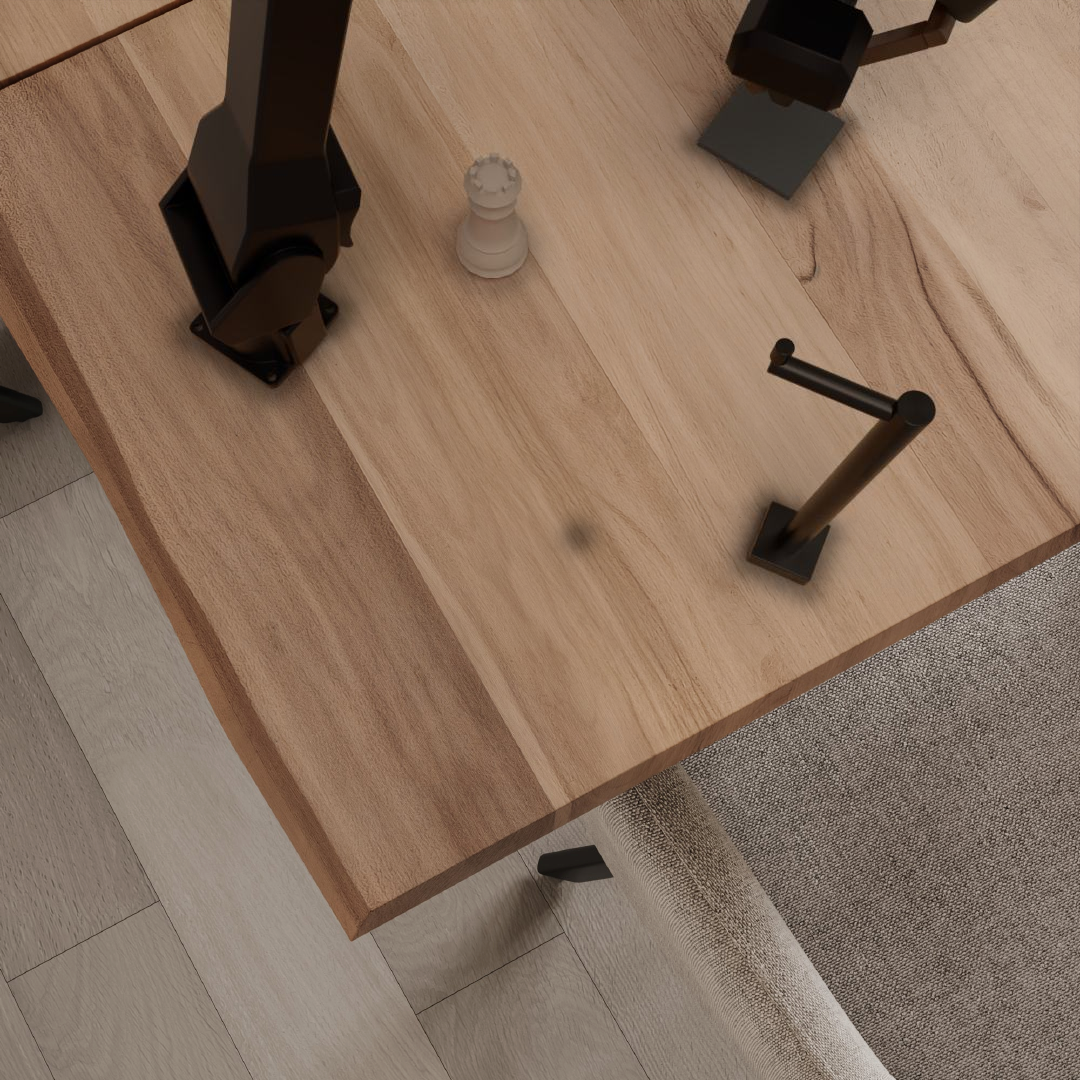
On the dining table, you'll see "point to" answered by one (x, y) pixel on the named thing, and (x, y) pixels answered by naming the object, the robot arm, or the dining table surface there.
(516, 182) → the rook chess piece
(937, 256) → the dining table surface
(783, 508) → the black hanging stand
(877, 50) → the rectangular frame
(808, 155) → the felt mat
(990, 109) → the dining table surface
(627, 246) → the dining table surface
